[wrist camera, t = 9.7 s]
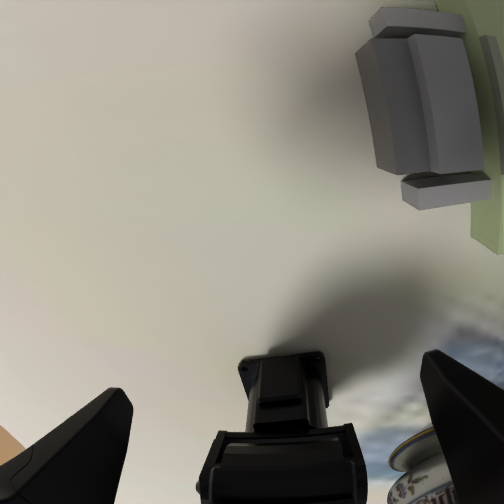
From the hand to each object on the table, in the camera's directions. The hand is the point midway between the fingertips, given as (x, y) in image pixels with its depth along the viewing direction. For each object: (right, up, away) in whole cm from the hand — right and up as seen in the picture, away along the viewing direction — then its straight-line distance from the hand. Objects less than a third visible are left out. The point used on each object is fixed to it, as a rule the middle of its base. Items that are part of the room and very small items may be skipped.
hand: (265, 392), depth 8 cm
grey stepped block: (+9, +12, +8) cm, 17 cm away
